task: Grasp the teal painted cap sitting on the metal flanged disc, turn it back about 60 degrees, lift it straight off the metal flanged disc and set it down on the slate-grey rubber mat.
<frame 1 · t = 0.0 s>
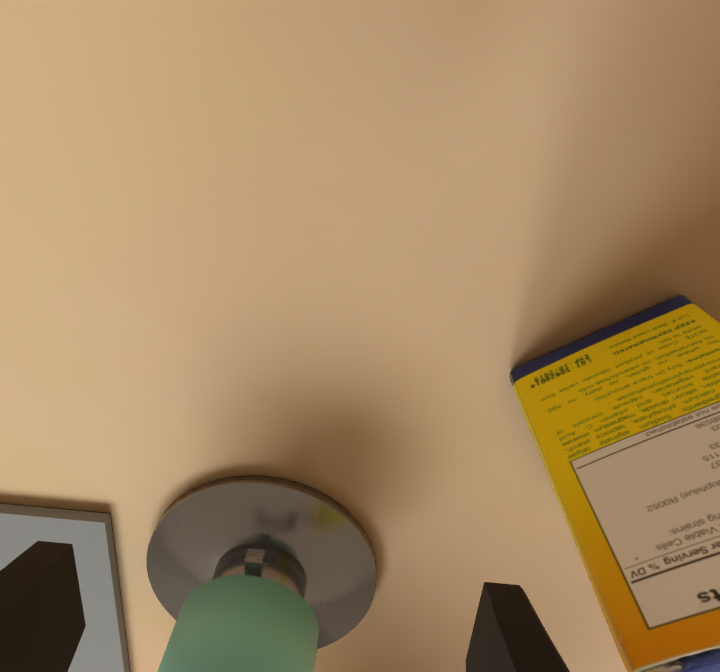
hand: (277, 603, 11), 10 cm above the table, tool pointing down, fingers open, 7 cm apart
metal flanged disc: (263, 566, 24), on the table
cap: (249, 626, 21), point 3 cm above the table, touching metal flanged disc
supplement box: (619, 398, 20), on the table
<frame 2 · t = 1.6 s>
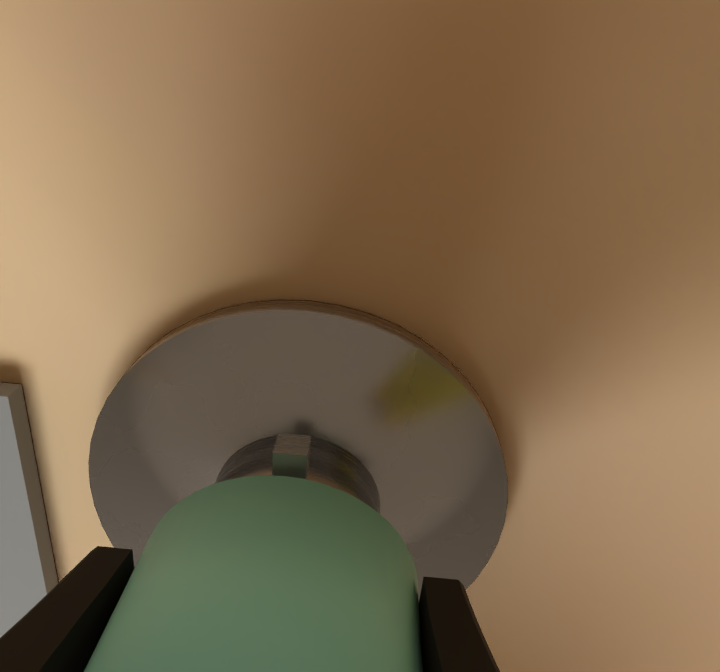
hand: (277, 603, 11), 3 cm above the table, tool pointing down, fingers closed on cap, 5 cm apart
metal flanged disc: (300, 485, 13), on the table
cap: (280, 585, 11), point 3 cm above the table, touching gripper, metal flanged disc
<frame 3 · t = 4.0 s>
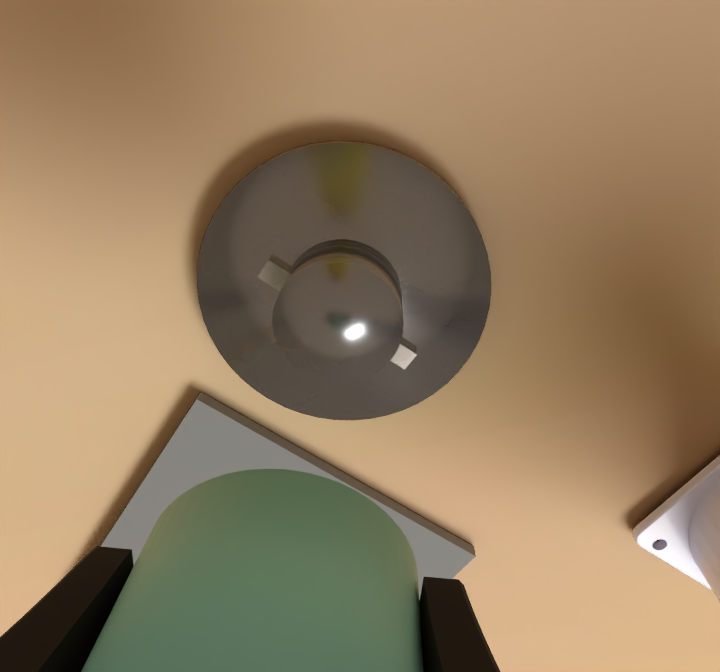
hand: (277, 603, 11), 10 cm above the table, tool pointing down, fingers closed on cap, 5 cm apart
mat: (263, 570, 24), on the table
metal flanged disc: (344, 289, 19), on the table
cap: (281, 579, 11), point 10 cm above the table, touching gripper
when the fingers open (3 cm above the table, at t = 6.6 s): cap drops 2 cm, resting on mat.
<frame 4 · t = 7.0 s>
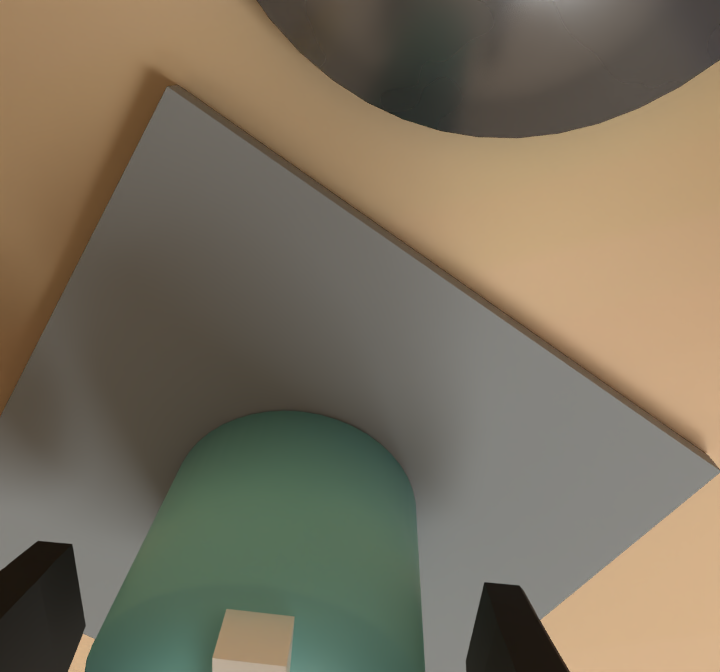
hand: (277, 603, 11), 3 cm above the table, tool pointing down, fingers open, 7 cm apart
mat: (297, 503, 13), on the table
cap: (294, 512, 12), point 1 cm above the table, touching mat
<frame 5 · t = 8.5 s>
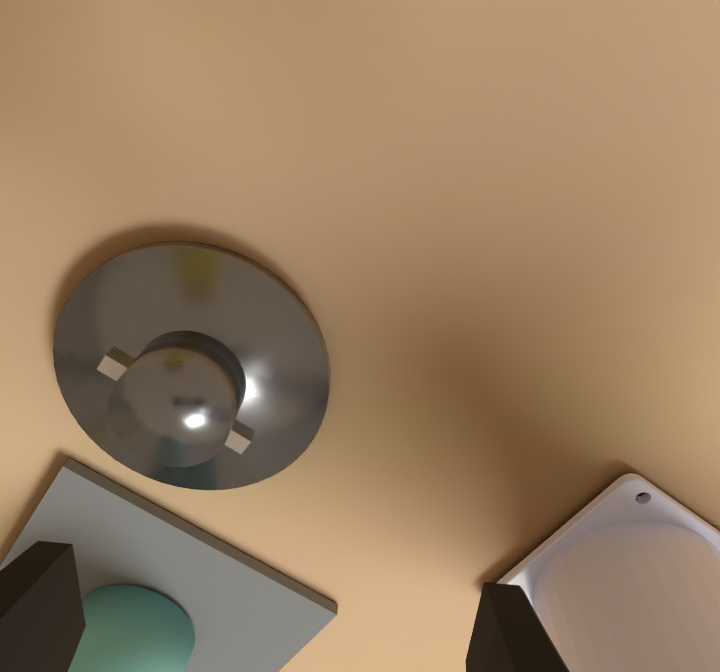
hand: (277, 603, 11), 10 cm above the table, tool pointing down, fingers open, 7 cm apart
mat: (141, 620, 25), on the table
metal flanged disc: (196, 371, 20), on the table
cap: (135, 629, 25), point 1 cm above the table, touching mat
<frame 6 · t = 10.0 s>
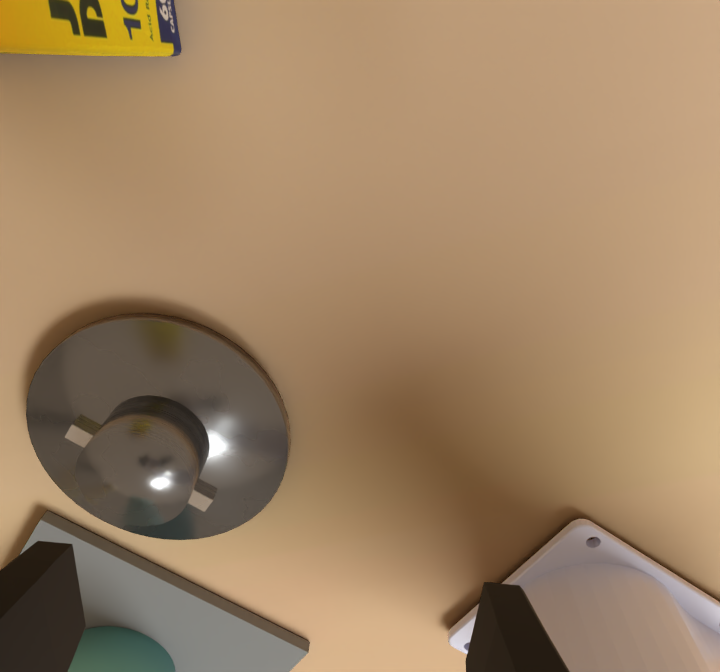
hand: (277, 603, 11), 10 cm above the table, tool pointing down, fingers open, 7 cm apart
mat: (122, 658, 26), on the table
metal flanged disc: (163, 430, 21), on the table
cap: (116, 668, 26), point 1 cm above the table, touching mat
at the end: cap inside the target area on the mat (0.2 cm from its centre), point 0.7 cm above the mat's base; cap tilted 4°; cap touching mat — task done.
